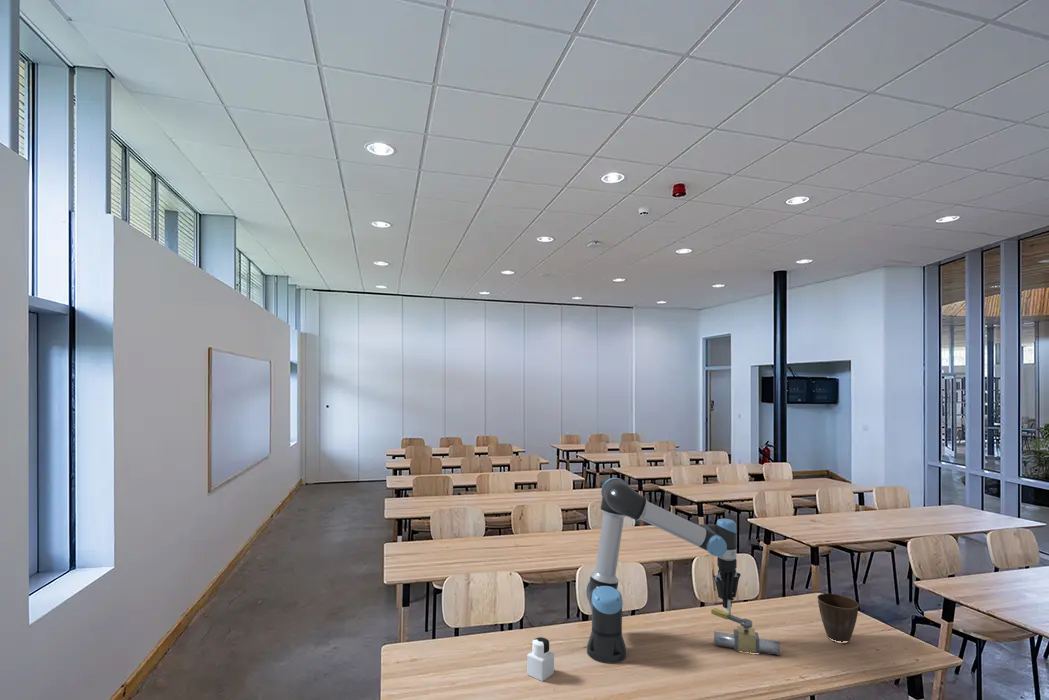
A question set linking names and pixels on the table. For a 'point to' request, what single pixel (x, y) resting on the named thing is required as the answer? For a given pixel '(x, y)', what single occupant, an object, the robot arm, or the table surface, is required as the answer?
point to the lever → (732, 617)
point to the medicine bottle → (540, 660)
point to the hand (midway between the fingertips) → (727, 615)
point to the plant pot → (838, 615)
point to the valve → (746, 641)
